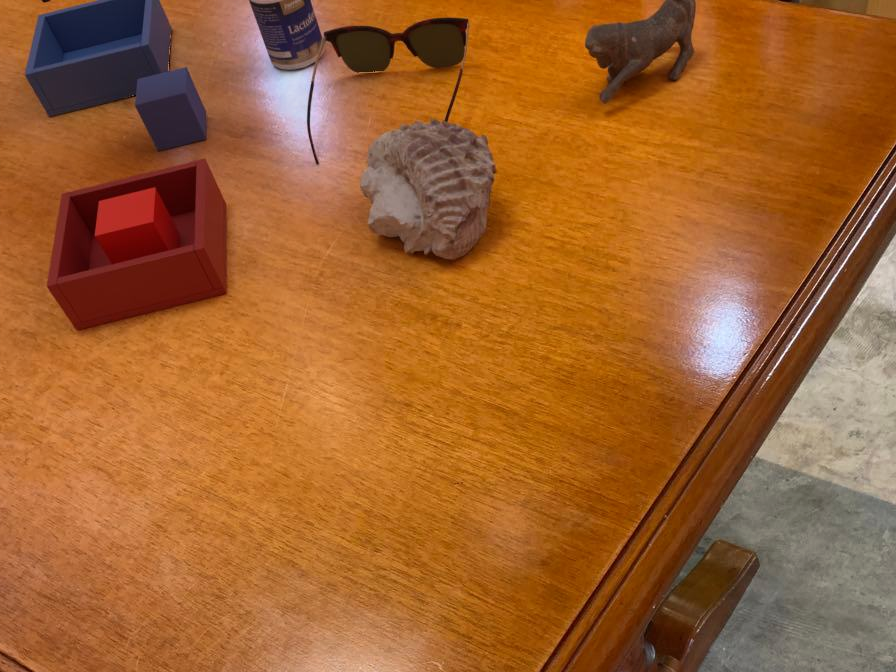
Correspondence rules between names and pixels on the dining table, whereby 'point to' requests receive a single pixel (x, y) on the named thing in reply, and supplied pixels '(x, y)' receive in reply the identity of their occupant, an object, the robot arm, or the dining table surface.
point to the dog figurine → (642, 43)
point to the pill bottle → (288, 31)
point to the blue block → (171, 109)
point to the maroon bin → (146, 278)
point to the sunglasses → (375, 48)
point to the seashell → (430, 187)
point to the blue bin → (96, 52)
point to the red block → (135, 226)
